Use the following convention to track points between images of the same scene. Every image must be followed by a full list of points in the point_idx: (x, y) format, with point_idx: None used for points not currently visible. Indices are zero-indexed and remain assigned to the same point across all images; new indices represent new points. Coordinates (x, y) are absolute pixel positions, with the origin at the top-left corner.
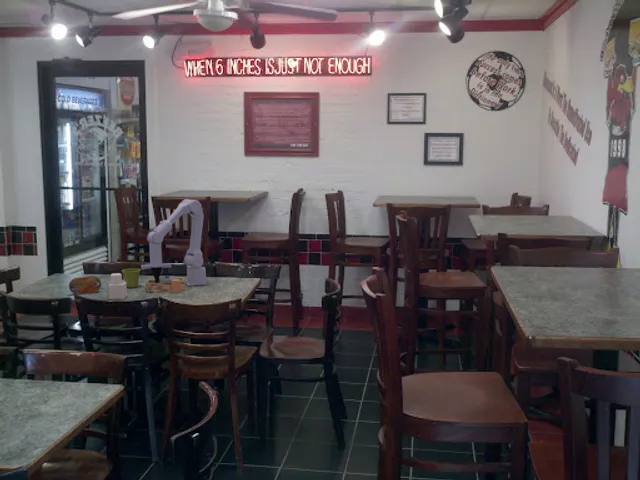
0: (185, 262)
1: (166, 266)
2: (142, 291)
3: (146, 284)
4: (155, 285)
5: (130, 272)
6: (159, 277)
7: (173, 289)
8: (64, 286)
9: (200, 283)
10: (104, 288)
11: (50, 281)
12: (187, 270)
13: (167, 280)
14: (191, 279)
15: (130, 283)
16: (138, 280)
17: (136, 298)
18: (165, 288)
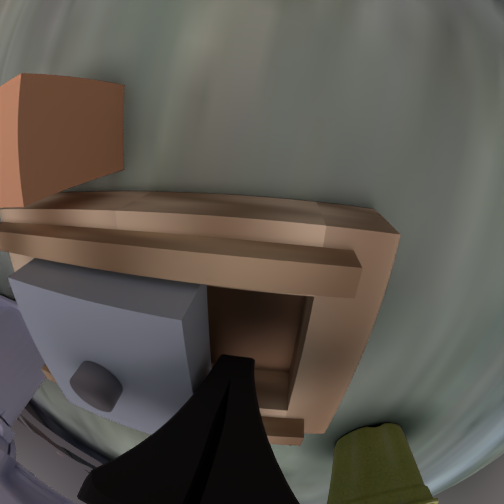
0: (12, 457)
1: (35, 491)
2: (394, 308)
3: (348, 383)
4: (289, 247)
5: (417, 502)
6: None
7: (94, 83)
8: (498, 442)
9: (1, 307)
10: (471, 422)
11: (468, 474)
12: (2, 398)
13: (87, 290)
14: (9, 336)
15: (397, 443)
16: (338, 468)
17: (496, 38)
18: (163, 200)
